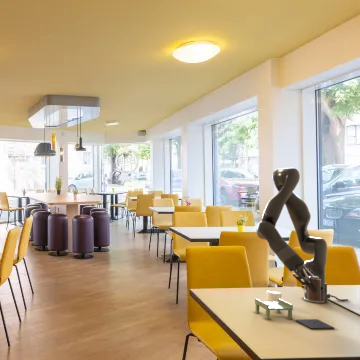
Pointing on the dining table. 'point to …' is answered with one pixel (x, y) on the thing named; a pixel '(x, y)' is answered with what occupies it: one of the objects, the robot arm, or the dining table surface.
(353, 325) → the dining table surface
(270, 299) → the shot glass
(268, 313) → the tray
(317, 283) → the brown bottle
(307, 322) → the mat
